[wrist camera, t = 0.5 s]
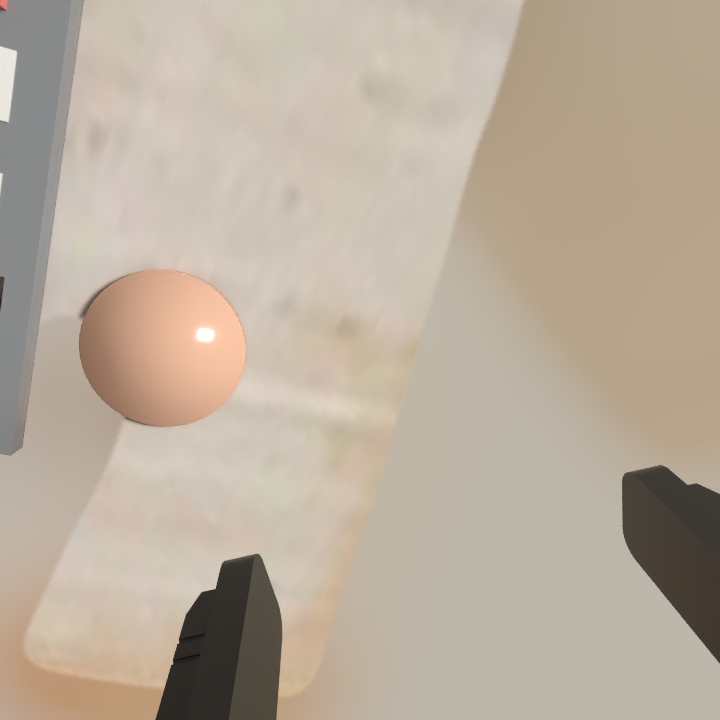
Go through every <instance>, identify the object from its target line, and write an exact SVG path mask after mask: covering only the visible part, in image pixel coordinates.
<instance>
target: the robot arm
mask: <svg viewBox="0 0 720 720" xmlns="http://www.w3.org/2000/svg"><path fill="white" fill-rule="evenodd" d="M622 502H623V503H622V504H623V505H622V506H623V507H622V511H623V534H624V538H625V541H626V544H627V546H628V548H629V550H630V552H631V554H632V555H633V557H634V558H635V560H636V561H637V562H638V563H639V565H640V566H641V567H642V568H643V570H644V571H645V572H646V573H647V575H648V576H649V577H650V578H651V579H652V581H653V582H654V583H655V584H656V585H657V587H658V588H659V589H660V591H661V592H662V593H663V594H664V595H665V597H666V598H667V599H668V600H669V602H670V603H671V604H672V605H673V607H674V608H675V609H676V610H677V611H678V613H679V614H680V615H681V616H682V618H683V619H684V620H685V621H686V623H687V624H688V625H689V626H690V627H691V629H692V630H693V631H694V632H695V634H696V635H697V636H698V637H699V639H700V640H701V641H702V642H703V643H704V644H705V646H706V647H707V648H708V650H709V651H710V652H711V653H712V654H713V656H714V657H715V658H716V659H717V661H718V662H719V663H720V494H718V493H716V492H714V491H712V490H710V489H707V488H705V487H703V486H701V485H699V484H692V485H687V484H686V483H684V482H683V481H682V480H681V479H680V478H679V477H677V476H676V475H675V474H674V473H673V472H672V471H670V470H669V469H668V468H667V467H665V466H662V465H659V466H654V467H650V468H646V469H641V470H636V471H632V472H628V473H626V474H624V476H623V479H622ZM281 646H282V621H281V614H280V609H279V605H278V602H277V599H276V596H275V594H274V591H273V588H272V585H271V582H270V580H269V577H268V574H267V571H266V568H265V566H264V563H263V560H262V558H261V556H260V555H259V554H254V555H249V556H245V557H240V558H236V559H231V560H227V561H224V562H223V563H222V565H221V569H220V573H219V577H218V582H217V586H216V589H214V590H209V591H205V592H201V594H200V595H199V597H198V598H197V600H196V601H195V603H194V604H193V605H192V607H191V608H190V610H189V611H188V613H187V614H186V617H185V620H184V623H183V627H182V630H181V634H180V637H179V644H177V648H176V651H175V654H174V658H173V665H171V668H170V672H169V675H168V679H167V682H166V685H165V689H164V692H163V696H162V699H161V703H160V706H159V710H158V713H157V717H156V720H276V714H277V701H278V688H279V674H280V660H281Z"/></svg>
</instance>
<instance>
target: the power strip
mask: <svg viewBox="0 0 720 720" xmlns="http://www.w3.org/2000/svg"><path fill="white" fill-rule="evenodd" d="M83 1H84V0H0V276H1V277H5V278H4V286H3V294H2V302H1V310H0V454H4V455H12V454H13V453H15V452H16V451H18V450H19V449H20V448H22V445H23V438H24V430H25V423H26V416H27V409H28V402H29V394H30V387H31V380H32V372H33V365H34V358H35V351H36V343H37V336H38V329H39V321H40V314H41V307H42V300H43V292H44V285H45V278H46V270H47V263H48V256H49V249H50V241H51V234H52V227H53V220H54V212H55V205H56V198H57V190H58V183H59V176H60V169H61V161H62V154H63V147H64V139H65V132H66V125H67V118H68V110H69V103H70V96H71V88H72V81H73V74H74V67H75V59H76V52H77V45H78V37H79V30H80V23H81V16H82V8H83Z"/></svg>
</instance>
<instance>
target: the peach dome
mask: <svg viewBox="0 0 720 720" xmlns="http://www.w3.org/2000/svg"><path fill="white" fill-rule="evenodd" d="M79 350H80V358H81V363H82V367H83V369H84V372H85V374H86V377H87V379H88V381H89V382H90V384H91V386H92V387H93V389H94V390H95V391H96V393H97V394H98V395H99V396H100V397H101V398H102V400H103V401H104V402H105V403H107V404H108V405H109V406H110V407H112V408H113V409H114V410H116V411H117V412H119V413H120V414H122V415H123V416H126V417H128V418H130V419H132V420H134V421H137V422H140V423H144V424H148V425H153V426H179V425H185V424H189V423H192V422H195V421H198V420H200V419H203V418H205V417H206V416H208V415H210V414H212V413H213V412H214V411H216V410H217V409H218V408H220V407H221V406H222V405H223V404H224V403H225V402H226V401H227V400H228V398H229V397H230V396H231V395H232V393H233V392H234V390H235V388H236V387H237V385H238V383H239V381H240V378H241V376H242V373H243V369H244V365H245V359H246V342H245V336H244V332H243V328H242V325H241V323H240V320H239V318H238V316H237V314H236V313H235V311H234V309H233V308H232V306H231V305H230V304H229V302H228V301H227V300H226V299H225V298H224V297H223V296H222V295H221V294H220V293H219V292H218V291H217V290H216V289H214V288H213V287H212V286H210V285H209V284H207V283H206V282H204V281H202V280H200V279H198V278H196V277H194V276H191V275H189V274H185V273H182V272H178V271H171V270H150V271H142V272H138V273H134V274H131V275H128V276H125V277H123V278H121V279H119V280H117V281H115V282H114V283H112V284H111V285H109V286H108V287H107V288H105V289H104V290H103V291H102V292H101V293H100V294H99V295H98V296H97V297H96V298H95V300H94V301H93V303H92V304H91V305H90V307H89V309H88V311H87V313H86V314H85V317H84V320H83V323H82V326H81V332H80V338H79Z"/></svg>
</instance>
